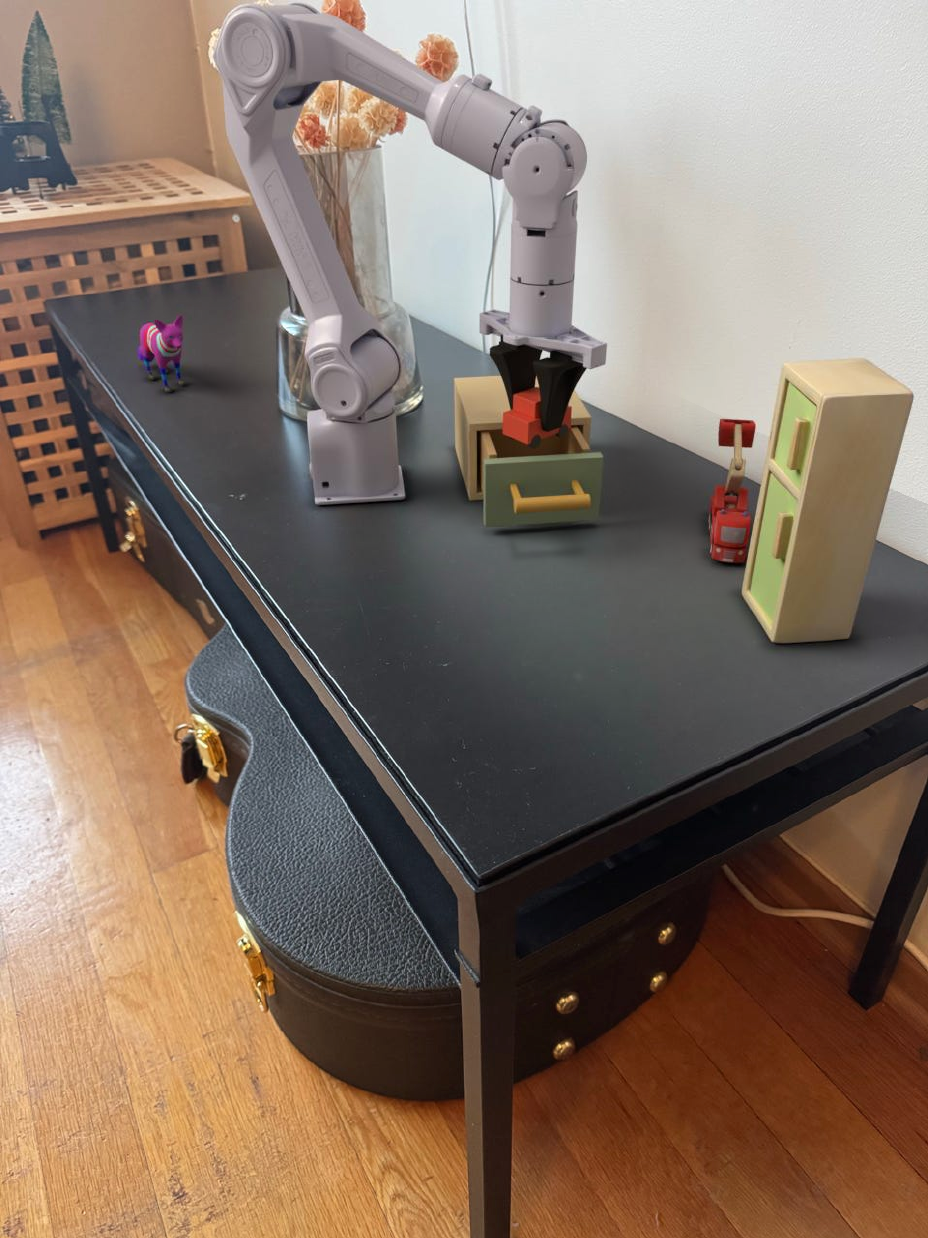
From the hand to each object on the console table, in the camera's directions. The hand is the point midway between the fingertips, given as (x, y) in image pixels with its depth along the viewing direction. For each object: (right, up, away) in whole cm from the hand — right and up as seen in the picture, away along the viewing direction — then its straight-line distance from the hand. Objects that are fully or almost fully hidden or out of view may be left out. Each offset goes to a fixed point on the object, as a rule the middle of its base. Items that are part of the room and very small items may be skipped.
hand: (536, 422), depth 88 cm
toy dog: (-49, +14, +39) cm, 64 cm away
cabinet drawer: (0, -8, +4) cm, 9 cm away
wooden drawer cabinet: (-1, -2, +14) cm, 14 cm away
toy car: (0, -1, +1) cm, 2 cm away
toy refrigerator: (+21, -19, -11) cm, 30 cm away
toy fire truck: (+19, -11, +1) cm, 22 cm away
